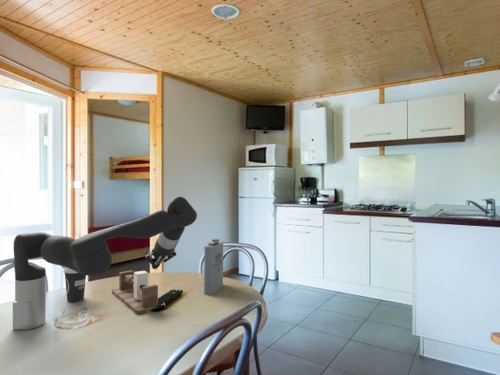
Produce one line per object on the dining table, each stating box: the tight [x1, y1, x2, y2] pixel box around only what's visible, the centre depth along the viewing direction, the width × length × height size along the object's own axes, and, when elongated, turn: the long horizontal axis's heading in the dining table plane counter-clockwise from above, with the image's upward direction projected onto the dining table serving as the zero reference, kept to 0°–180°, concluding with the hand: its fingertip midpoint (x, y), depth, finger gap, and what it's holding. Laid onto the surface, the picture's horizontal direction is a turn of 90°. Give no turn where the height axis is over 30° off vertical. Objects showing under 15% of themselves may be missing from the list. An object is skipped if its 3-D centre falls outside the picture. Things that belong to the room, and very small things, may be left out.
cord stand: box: [111, 269, 166, 315], centre depth 144 cm, size 32×12×10 cm, turn 39°
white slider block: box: [133, 270, 149, 300], centre depth 141 cm, size 4×5×11 cm
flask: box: [203, 238, 224, 296], centre depth 160 cm, size 17×5×25 cm, turn 164°
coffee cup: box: [63, 267, 87, 303], centre depth 144 cm, size 10×10×15 cm
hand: (154, 267), depth 131 cm, fingers closed
